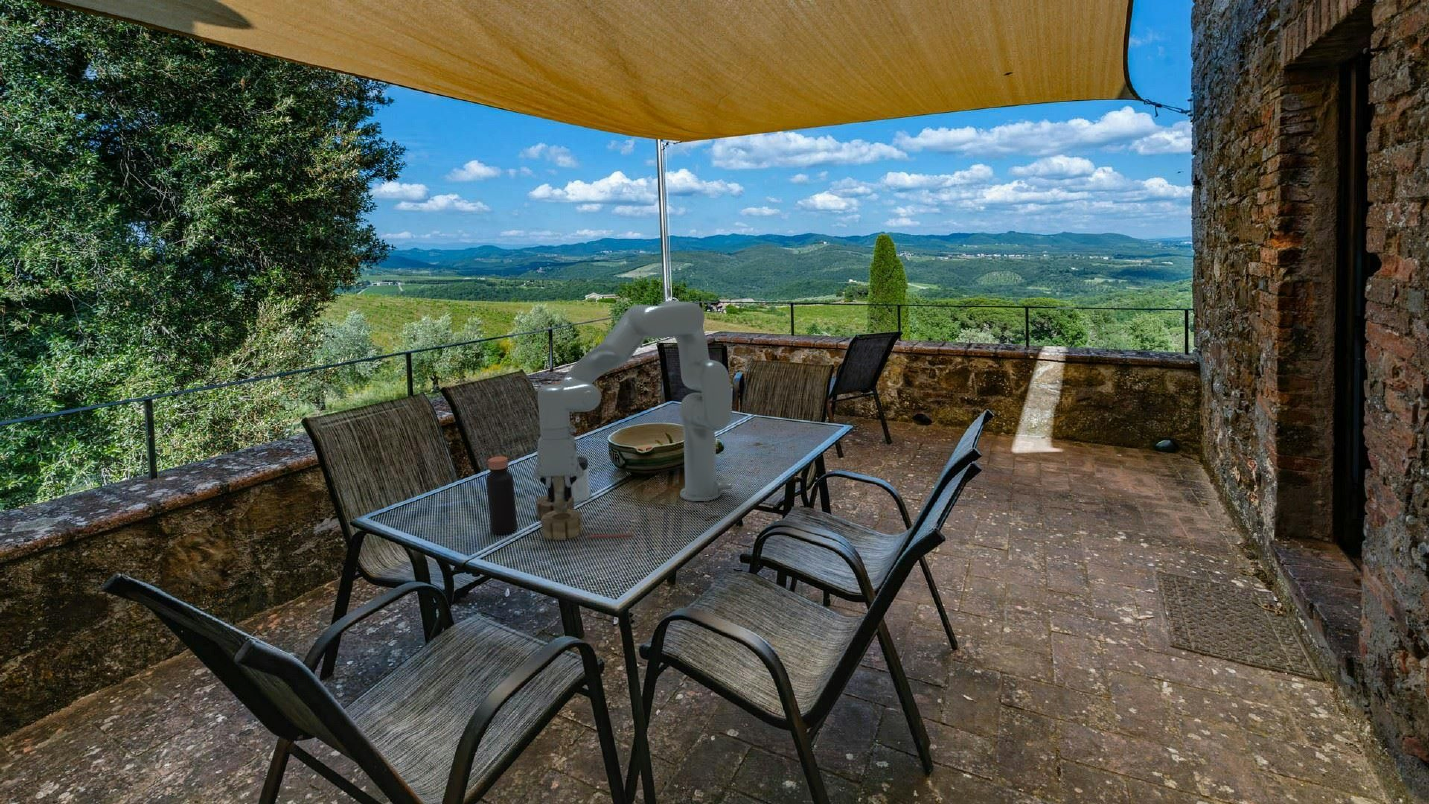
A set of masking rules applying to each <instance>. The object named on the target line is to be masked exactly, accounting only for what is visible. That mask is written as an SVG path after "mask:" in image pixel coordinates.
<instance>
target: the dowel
mask: <svg viewBox="0 0 1429 804" xmlns="http://www.w3.org/2000/svg"><path fill="white" fill-rule="evenodd" d="M552 478H553V479H552V483H553V492H554V506H555V513H565V512H567V502H566V501H565V490H564V488H565V485H566V484H565V476H553V477H552Z"/></svg>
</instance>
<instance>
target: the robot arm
mask: <svg viewBox="0 0 1429 804" xmlns="http://www.w3.org/2000/svg"><path fill="white" fill-rule="evenodd" d="M704 323H705V313H704V310H703V309H702V307H701V306H700V305H699V304H697V303H695V302H690V301H681V300H680V301H679V300H665V301H663V302H660V303H659V304H658V305H649V304H648V305H647V304H635V305H632V306H631V307H629V308H628V309H627V310H626V311H625V312H624V314H623V315H622V316H621V317H620V319H619V320H618V321H617V322H616V324H615V325H614V327H613V328H612V329H611V331H609V332H608V333H607V335H606V337H605V338H604V339H603V340H602V341H601V343H599V345H597V346H596V347H594V348H593V349H592V350H591V351H589V352H587V354H585V355H584V356H582V357H581V358H580V359H579V360H578V361H577V362H576V363H575V364H573V366H572V367H571V369H569V370H568V372H567V373H566V375H565V376H564V377H563V379H562V380H561V381H560V383H559V384H558V383H557V384H555V383H554V384H546V385H542V386H540V387H539V388H538V390H537V403H538V415H539V416H538V417H539V429H540V432H539V433H540V437H538V442H537V449H536V450H537V451H536V452H537V455H536V468H535V470H534V471H533V474H532V478H533V479H535V480H537V481H540V483H541V484H543V485H544V486H545V488H547V495H548V498H550V500H551V502H554V492H553V478H552V477H553V476H565V481H566V485H565V488H564V490H565V501H566V502H568V501H569V499H570V498H571V497H572V491H571V485H572V484H573V483H574V482H575V481H576V480H577V479H579V478H581V477H582V476H584V471H583V470H582V468H581V467H580V465H579V462H578V456H579V455H578V448H577V443H576V439H575V435H573V434H576V433H577V427H572V426H571V420H570V419H571V418H570V413H572V412H573V413H575V412H579V413H584V412H590V411H593V410H595V409H596V408H597V407H599V405H600V403H601V399H602V393H601V391H600V390H599V388H598V387H597V386H595V385H594V384H593V383H594V382H595V381H596V380H597V379H598V378H599V377H600V376H602V375H604V374H605V373H607V372H609V371H612V370H614V369H618V368H620V367H622V366H625V365H626V364H627V363H628V362H629V360H630V359H631V358H632V356H633V355H634V354H635V352H636V351H637V350H638V348H640V347H641V345H642V343H644V341H645V339H647V338H650V339H664V338H672V337H674V338H675V341H676V344H677V349H678V356H679V366H680V375H681V381H682V383H683V385H684V386H685V387H686V388H688V389H691V390H693V391H697V392H692V393H689V394H687V395H686V396H684V397H683V398H682V400H681V403H680V406H679V415H680V419H681V421H680V422H681V425H682V431H683V432H682V433H683V453H684V454H683V456H684V457H683V458H684V460H683V461H684V462H683V463H684V488H682V489H681V490H680V491H679V493H680V495H679V496H680V497H681V498H682V499H684V500H686V501H689V502H695V501H704V502H709V501H710V500H711V501H714V500H716V499H715V498H717V499H719V498H720V497H721V496H722V494H721V493H722V490H733V489H732V487H733V486H732V485H733V484H732V482H727V481H719V480H718V477H717V451H716V446H717V445H716V444H717V443H716V433H715V431H716V432H717V431H718V432H720V431H722V430H725V429H726V428H727V427H728V426H729V424H730V422H731V419H732V415H733V414H732V413H733V406H732V391H731V380H730V378H731V377H730V374H729V372H728V370H727V368H726V367H725V365H724V364H722V363H721V361H717V360H713V359H710V354H709V348H708V347H709V345H708V340H707V335H706V333H705V331H704V329H703V326H704ZM576 472H577V474H576ZM572 475H573V476H572ZM571 476H572V477H571ZM720 495H721V496H720ZM719 496H720V497H719ZM718 497H719V498H718ZM713 499H714V500H713ZM711 501H710V502H711Z"/></svg>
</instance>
